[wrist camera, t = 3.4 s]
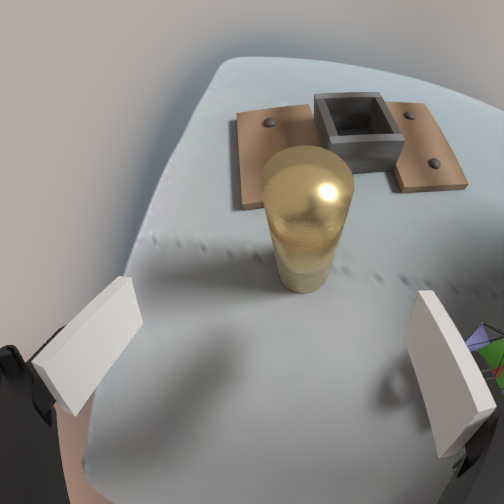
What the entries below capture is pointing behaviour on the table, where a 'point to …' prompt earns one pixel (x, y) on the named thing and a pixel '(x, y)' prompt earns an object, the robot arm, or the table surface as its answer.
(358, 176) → the table surface
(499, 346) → the geometric puzzle
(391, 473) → the table surface
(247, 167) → the brown flat wooden board
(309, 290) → the gold knob
